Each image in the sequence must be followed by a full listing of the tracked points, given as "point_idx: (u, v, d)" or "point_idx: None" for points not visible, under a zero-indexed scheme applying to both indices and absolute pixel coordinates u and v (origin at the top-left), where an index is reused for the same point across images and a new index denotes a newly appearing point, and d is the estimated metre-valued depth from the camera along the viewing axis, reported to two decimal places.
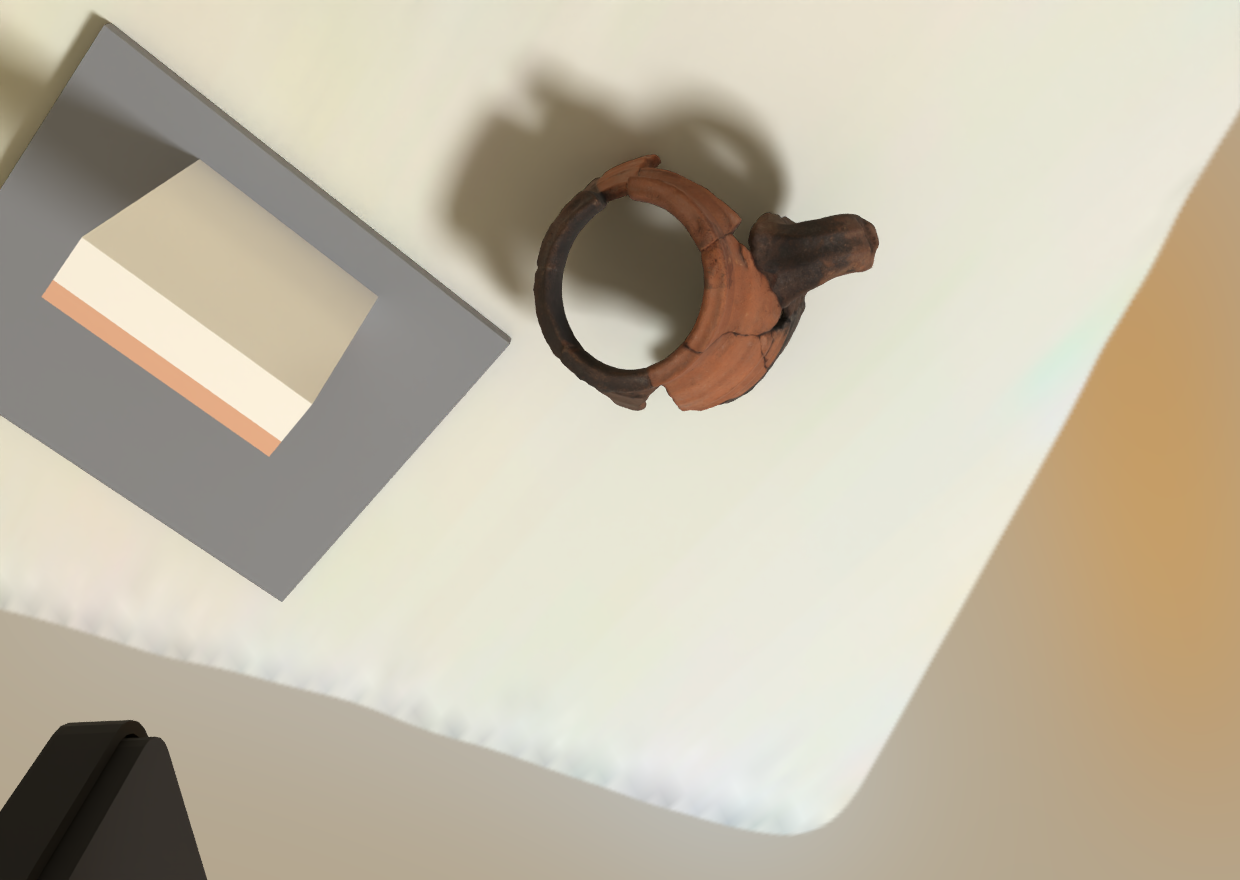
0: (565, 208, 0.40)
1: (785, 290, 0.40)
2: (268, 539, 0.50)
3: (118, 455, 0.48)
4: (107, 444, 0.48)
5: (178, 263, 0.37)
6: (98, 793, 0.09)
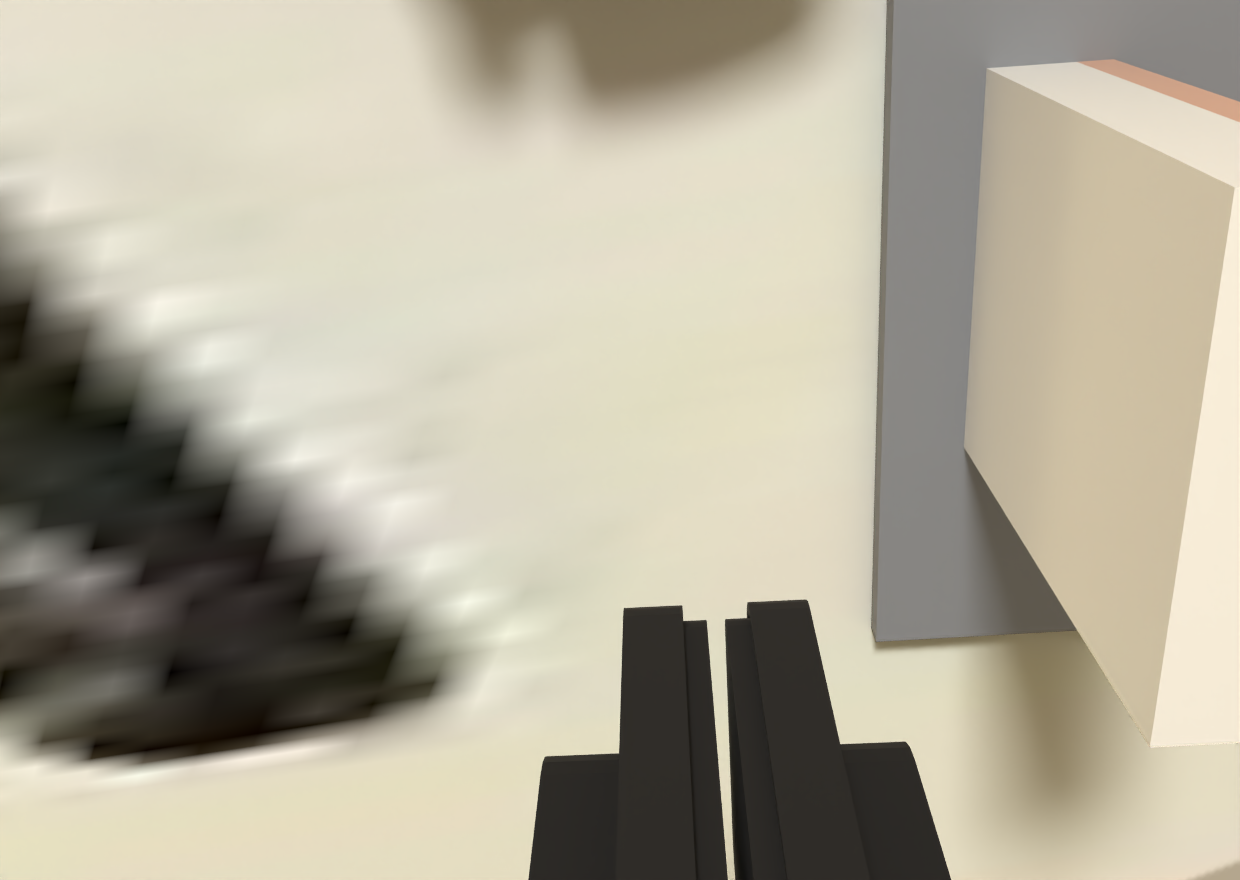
0: None
1: None
2: None
3: None
4: None
5: (1106, 527, 0.18)
6: (693, 663, 0.09)
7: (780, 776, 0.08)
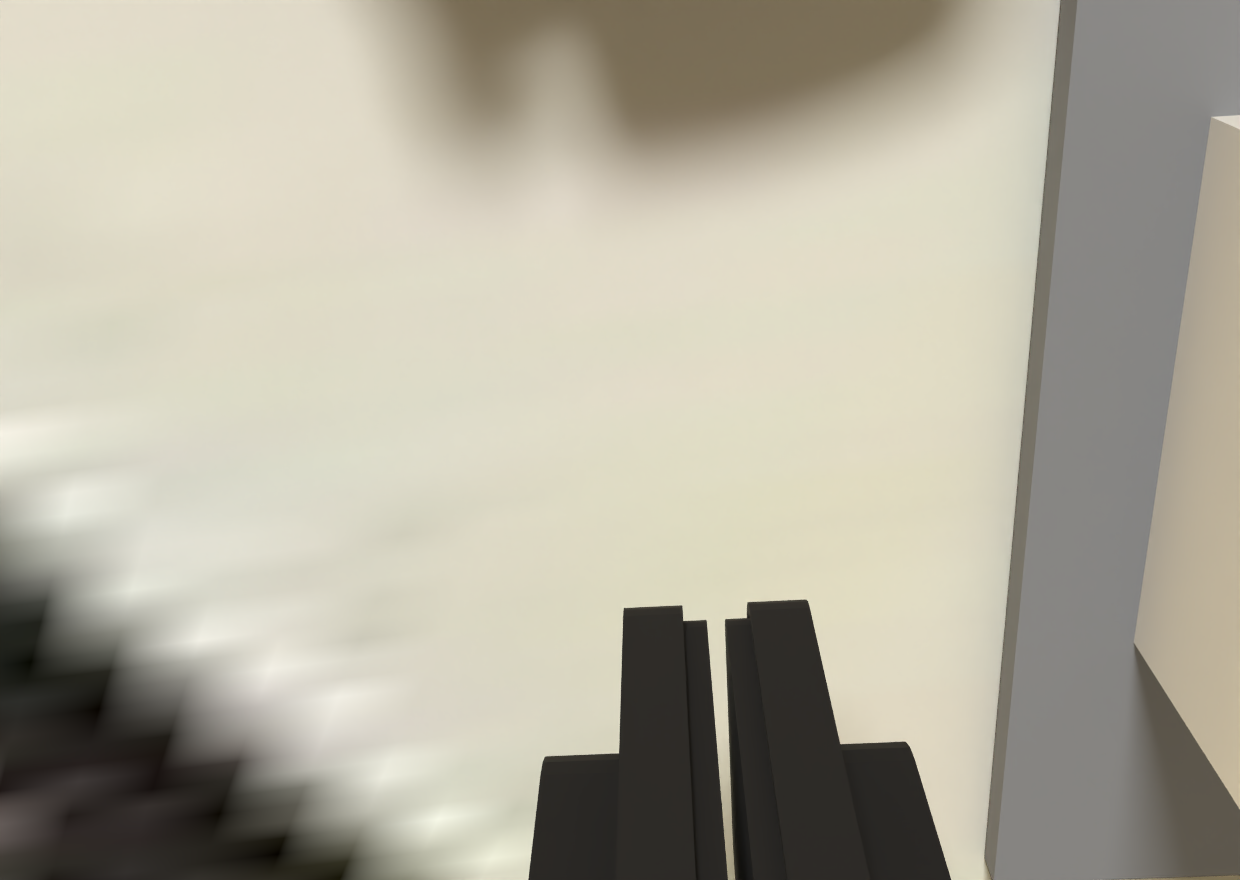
0: None
1: None
2: None
3: None
4: None
5: None
6: (693, 663, 0.09)
7: (780, 776, 0.08)
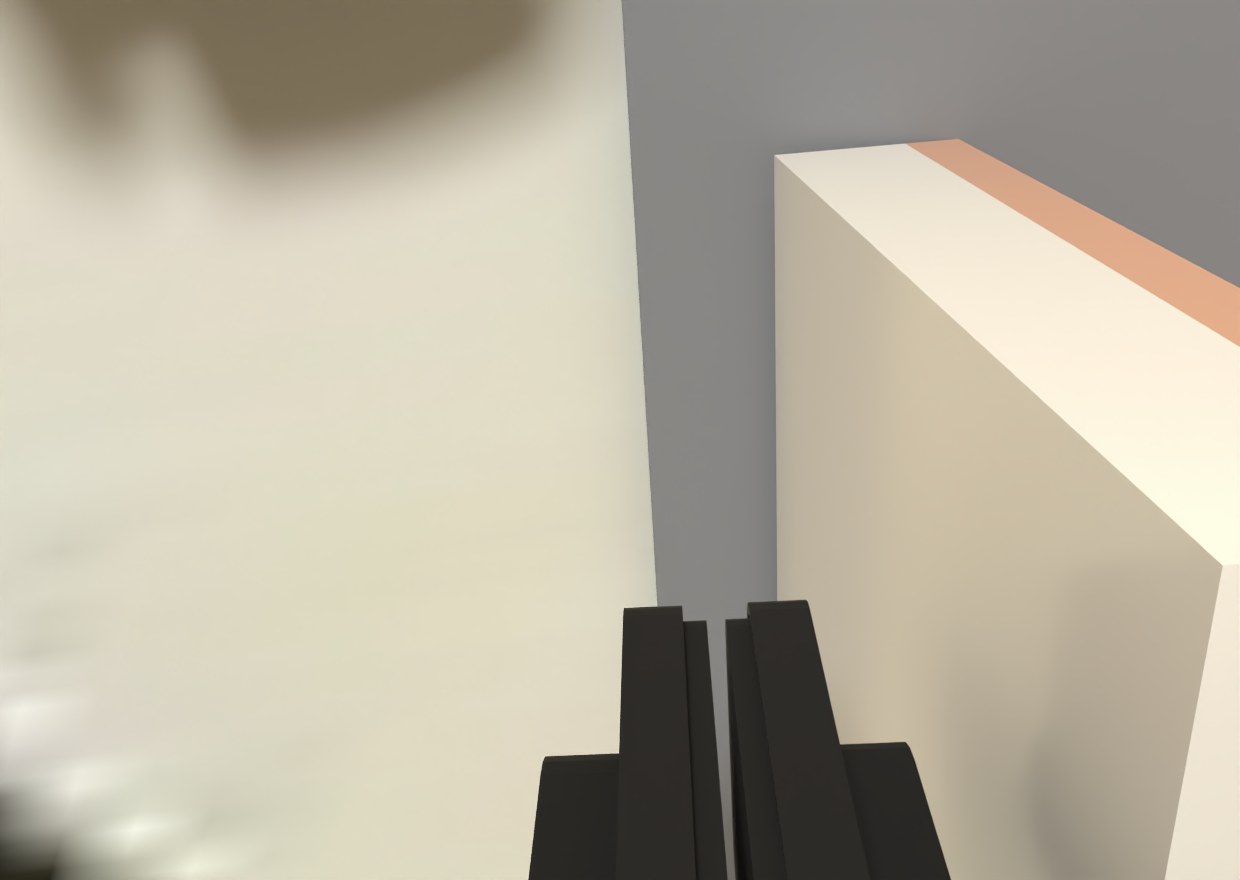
0: None
1: None
2: None
3: None
4: None
5: None
6: (694, 663, 0.09)
7: (780, 777, 0.08)
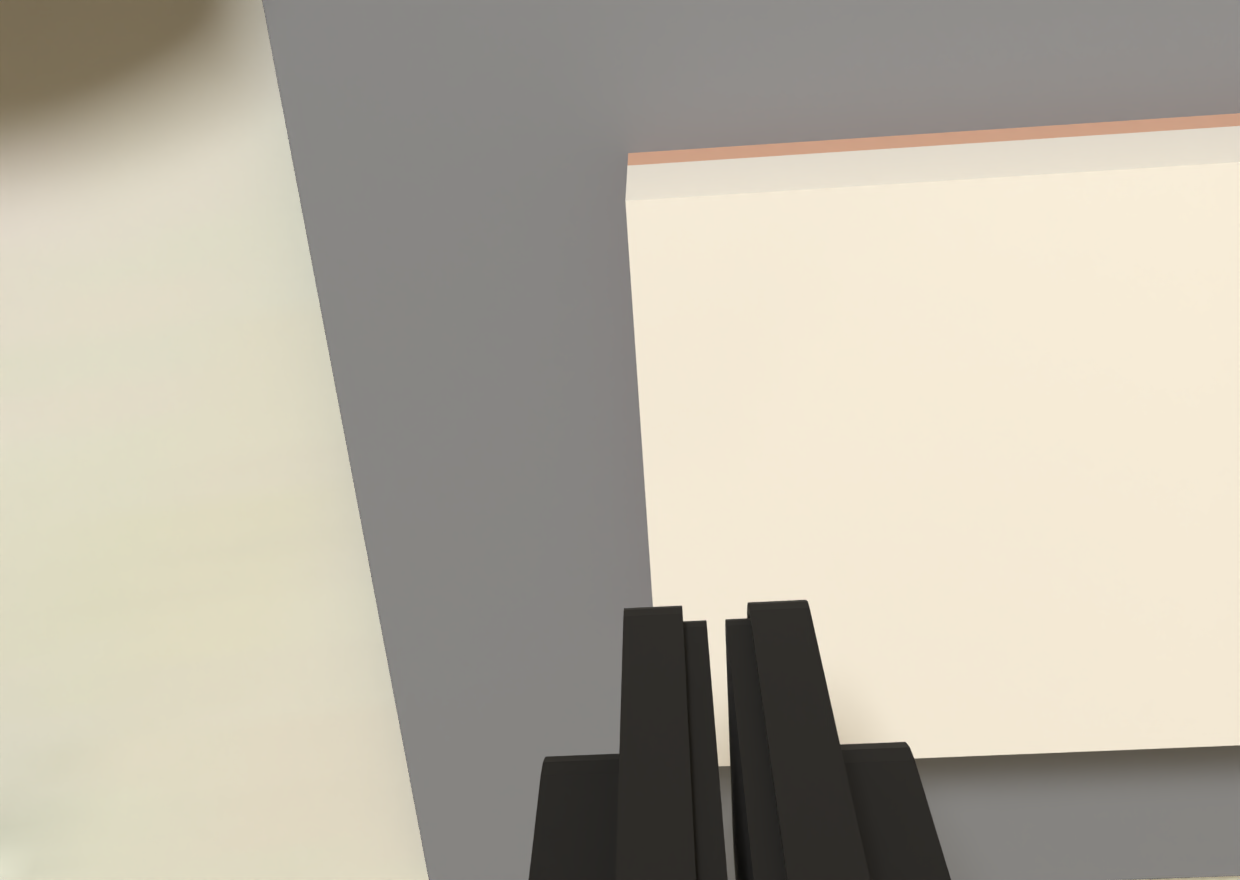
0: None
1: None
2: None
3: None
4: None
5: None
6: (693, 663, 0.09)
7: (780, 777, 0.08)
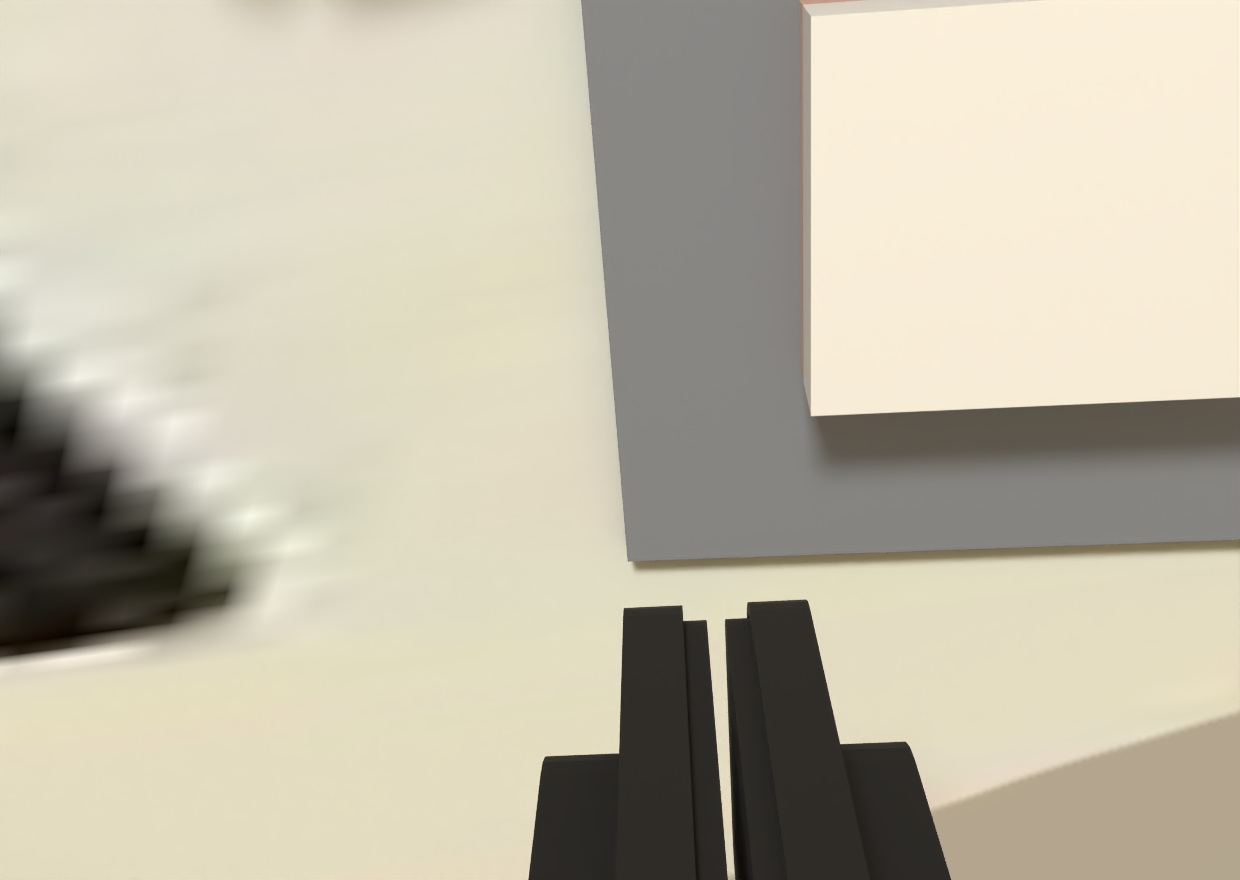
0: None
1: None
2: None
3: None
4: None
5: (1206, 293, 0.23)
6: (694, 663, 0.09)
7: (780, 777, 0.08)
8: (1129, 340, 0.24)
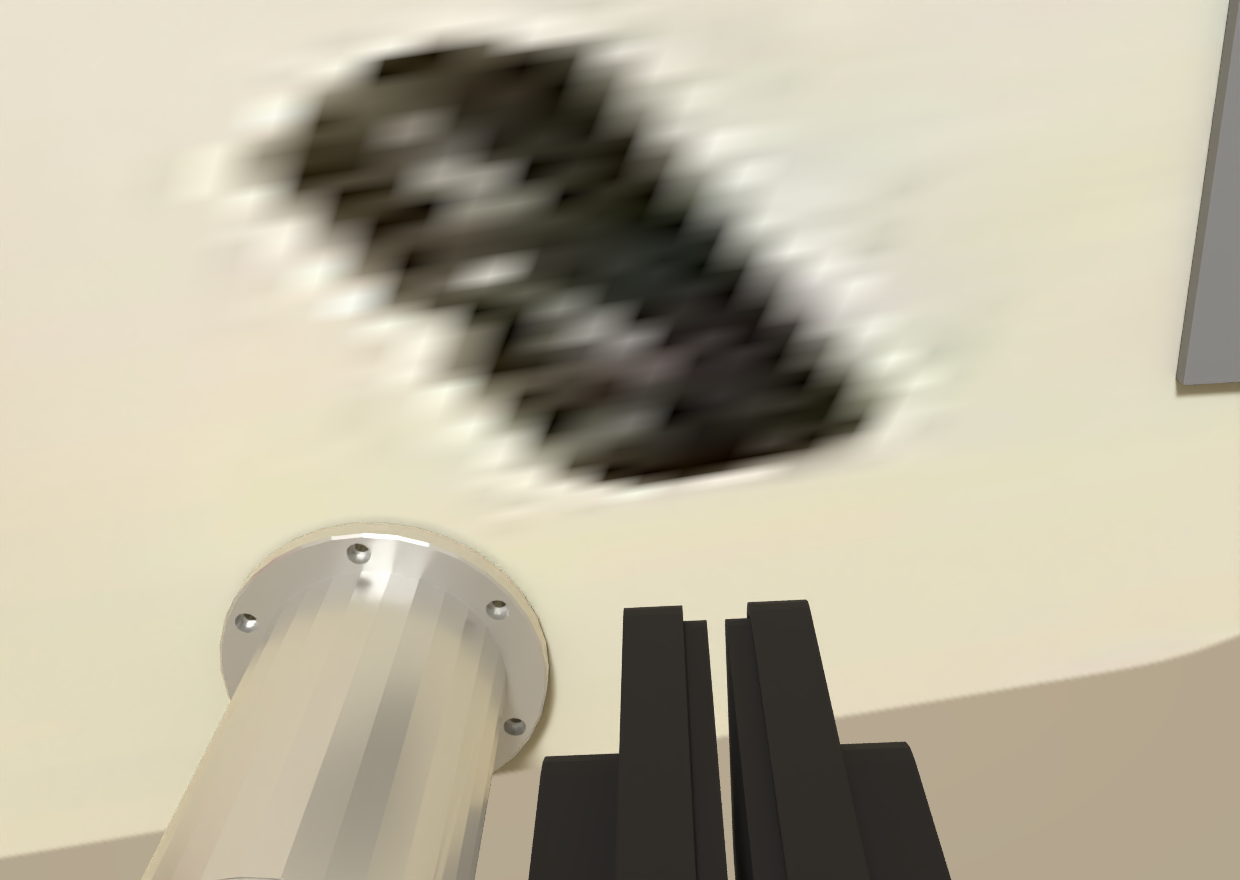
0: None
1: None
2: None
3: None
4: None
5: None
6: (693, 663, 0.09)
7: (779, 777, 0.08)
8: None
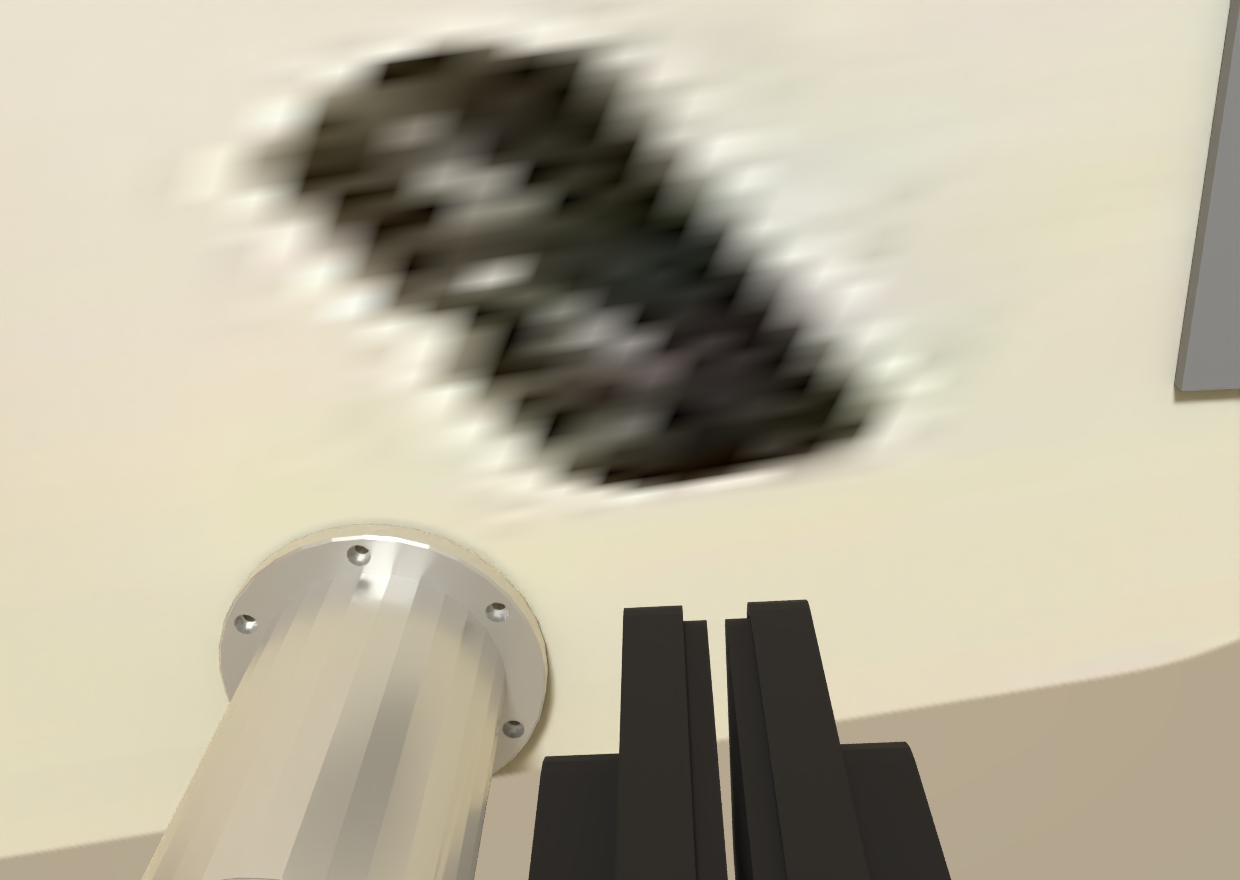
0: None
1: None
2: None
3: None
4: None
5: None
6: (693, 663, 0.09)
7: (780, 777, 0.08)
8: None
